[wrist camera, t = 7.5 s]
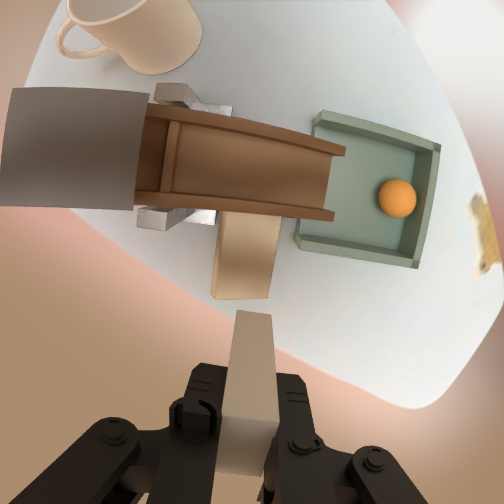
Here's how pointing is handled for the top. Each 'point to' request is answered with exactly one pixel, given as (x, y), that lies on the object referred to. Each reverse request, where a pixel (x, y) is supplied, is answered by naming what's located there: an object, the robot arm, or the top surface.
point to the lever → (167, 169)
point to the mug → (136, 31)
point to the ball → (397, 198)
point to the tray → (371, 192)
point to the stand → (171, 216)
